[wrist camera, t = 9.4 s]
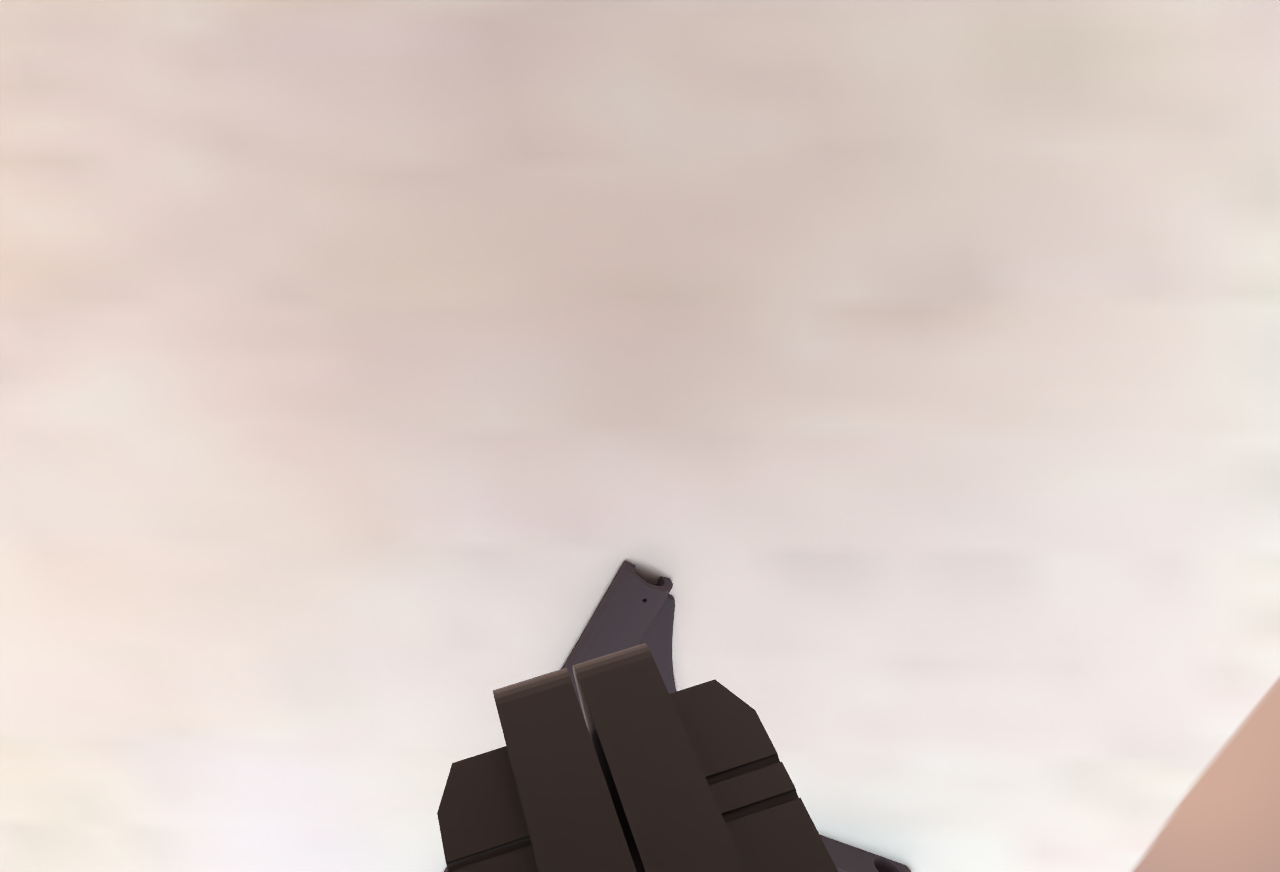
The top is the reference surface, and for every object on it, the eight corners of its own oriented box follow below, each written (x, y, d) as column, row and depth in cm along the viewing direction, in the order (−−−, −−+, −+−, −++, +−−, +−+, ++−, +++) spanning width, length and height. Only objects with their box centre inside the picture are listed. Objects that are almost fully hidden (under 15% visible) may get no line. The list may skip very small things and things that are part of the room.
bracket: (791, 1010, 45) (811, 1075, 43) (419, 899, 41) (417, 964, 38) (1006, 707, 41) (1043, 759, 39) (620, 548, 37) (633, 594, 34)
